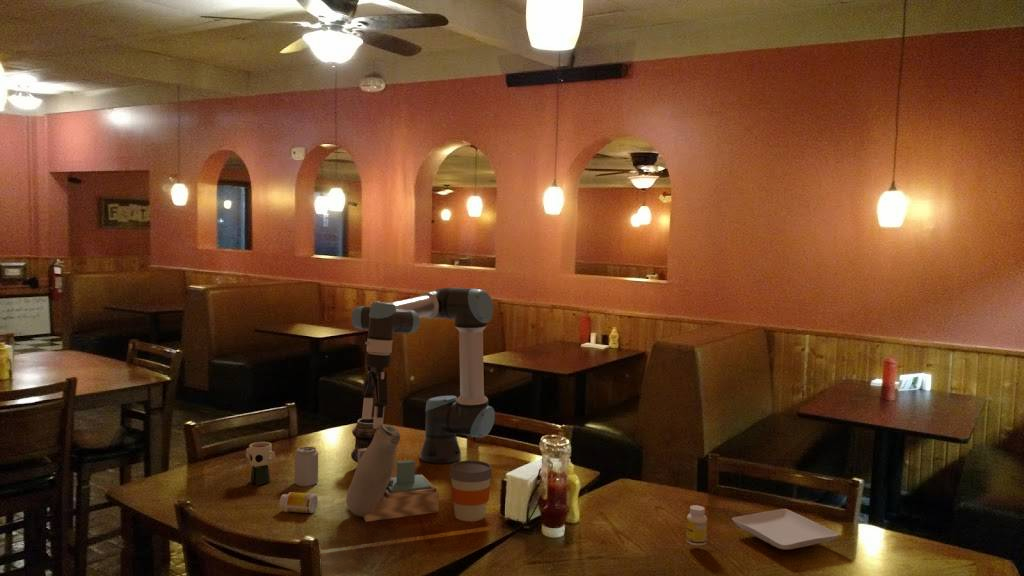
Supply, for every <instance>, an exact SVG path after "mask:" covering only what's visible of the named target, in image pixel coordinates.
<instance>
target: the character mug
mask: <svg viewBox="0 0 1024 576" xmlns="http://www.w3.org/2000/svg"><path fill="white" fill-rule="evenodd" d="M272 446H273V445H272V443H271V442H268V441H258V442H253V443H250V444H249V445H248V447H247V448H246V450H245V457H246V459H248V463H249V465H251V466H252V468H251V474H250V480H249V481H250V484H252V485H254V482H255V485H257V486H258V485H259V486H260V485H265V484H267V483H268V482H270V481H271V474H270V468H269V464H271V463H272V462H275V459H276V458H275V457H276V455H275V453H276V452H275V451H273V450H272Z"/></svg>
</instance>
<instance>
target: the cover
mask: <svg viewBox="0 0 1024 576" xmlns="http://www.w3.org/2000/svg"><path fill="white" fill-rule="evenodd" d="M415 469H416V462H415V461H414V460H413V459H407V460H397V461H396V476H395V477H393V476H391V479H392V480H393V484H388V486H387V488H386V489H387V490H388V491H389V493H397V492H406V491H414V490H423V489H430V486H429V485H428V484H427V483H426V482H425V480H424V479H423V478H422V477H421V476H420V475H419V474H416V473H415V472H416V470H415Z"/></svg>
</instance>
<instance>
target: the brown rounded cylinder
mask: <svg viewBox="0 0 1024 576" xmlns="http://www.w3.org/2000/svg"><path fill="white" fill-rule="evenodd" d="M400 439H401V434H400V431H398V429H396V428H395V427H394V426H392V425H389V424H383V425H382V426H380V427H379V428H378V429H377V430H376V432H375V434H374V438H373V440H372V442H371V444H370V446H369V447H368V448H367V449H366V451H365V452H364V454H363V455H362V457H361V458H360V460H359V463H357V464H356V465H357V466H356V467H357V468H356V467H355V468H356V471H354V474H353V478H352V480H351V481H350V482H351V483H350V485H349V487H348V491H347V493H346V499H345V500H346V501H345V503H346V506H347V509H349V511H350V512H351V513H352V514H354V515H355V516H357V517H362V518H363V517H365V516H366V515H368V514H370V513H372V511H373V510H374V508H375V507H376V505H377V503H378V502H379V500H380V499H382V498H383V495H384V493H385V491H386V488H387V486H388V483H389V481H390V478H392V477H393V476H392V475H393V473H394V471H395V470H394V469H395V466H396V464H395V463H396V454H397V448H398V445H399V443H400Z"/></svg>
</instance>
